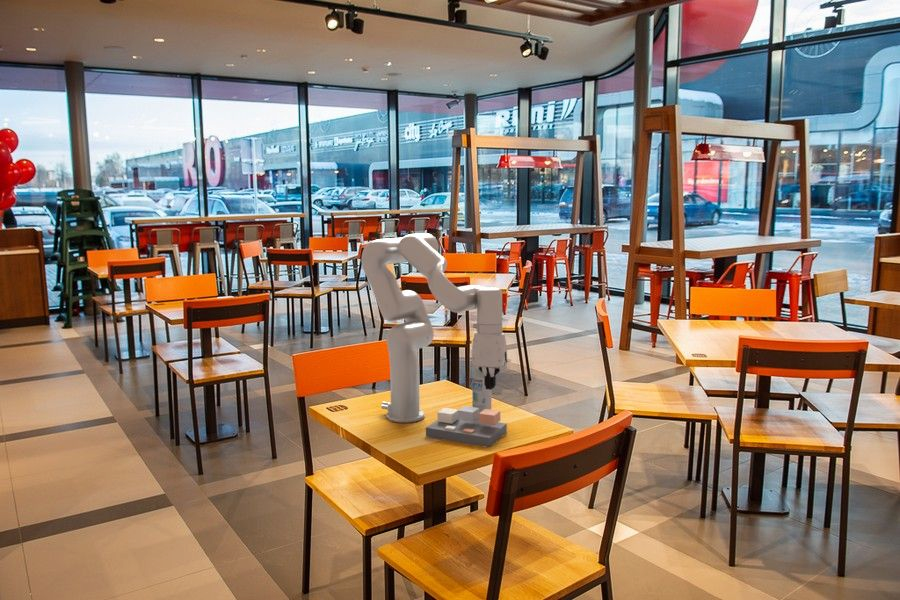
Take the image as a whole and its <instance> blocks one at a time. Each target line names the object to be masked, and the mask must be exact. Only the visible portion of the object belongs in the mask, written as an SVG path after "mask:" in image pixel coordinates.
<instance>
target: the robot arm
mask: <svg viewBox="0 0 900 600" xmlns="http://www.w3.org/2000/svg"><path fill="white" fill-rule="evenodd" d="M439 249H440V245H439V242H438V239H437V238H436V237H435V236H433V235H432V234H431V233H427V232H421V233H410V234H406V235H404V236H402V237H391V238H390V237H389V238H388V237H387V238H378V239H375V240H371V241H370V242H368V243H367V244H366V245H365V247H364V248H363V250H362V253H361V260H360V261H361V265H362V269H363V272H364V275H365V276H366V278H367V280H368V283H369V284H370V287H371V290H372V292H373V296H374V298H375V301H376V303H377V306H378V309H379V311H380V313H381V316H382V318H383V319H384V320H385V321H387V322H398V321H402V320H404V321H405V322H403V323H398V324H396V325H394V326H392V327H391V328H390V329H389V330H388V332H387V335H386V346H387V349H388V350H387V351H388V355H389V356H388V357H389V371H390V372H389V373H390V376H389V377H390V382H389V383H390V402H388V401H382V403H381V407H380V408H381V409H383V410H387V412H386V417H385V418H386V419H387V420H389V421H391V422H394V423H400V424H401V423H402V424H403V423H413V422H414V423H415V422H418V421H421V420H423V419H424V418H425V412H424V411H423V410H422V409H421V407H420V363H419V359H418V357H417V355H416V352H415V351H416V350H419V349H423V348H426V347H428V346H429V345H431V344H432V342H433V340H434V328H433V325H432V322H431V319H430V317H429V314H428V311H427V309H426V307H425V303H424V302H423V299H422V297H421V296H420V295H419V294H418V293H417V292H416V291H414V290H410V289H405V290H401V288H400V286H399V283H398V281H397V279H396V276H395V275H394V274H393V272H392V271H391V270H390V269H389V268H388V267H387V265H391V264H394V265H395V264H403V263H406V262H407V263H408V264H410V266H412V267H413V268H414V269H415V270H416V271H417V272H418V273H420V274H421V276H423V277H424V278H425V279H426V281H427V285H428V288H429V290H430V292H431V294H432V296H433V297H434V298H435V299H436V300H437V302H439V303H440V304H441V305H442V306H443V307H445V309H447V310H449V311H450V312H453V313H456V314H457V313H464V312H466V311H467V312H468V311H472V310H476V323H473V325H472V328H473V329H475V330H476V332H475V333H473V339H472V348H471V365H472V364H473V368H476V369H479V370H480V371H481V372H482V373H483V376H484V385H485V386H486V389H489V390H491V389H492V390H493V389H495V387H496V384H497V383H496V381H497V379H496V377H497V375H498V374H499V373H500V372H506V371H507V370H508V366H507V364H508V347H507V340H506V336H505V333H504V332H503V292H502V289H501V288H499V287H493V286H482V285H478V284H468V285H461V286H456V285H455V284H454V283H453V282H452V281H450V280H449V279H448V278H447V277H446V276H445V274H444V273H445V271H446V269H447V266H448V262H447V260H446V258H445V257H444V256H443V255H442V254H440V252H439ZM489 368H491V372H490V370H489Z"/></svg>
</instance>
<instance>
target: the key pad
mask: <svg viewBox="0 0 900 600" xmlns="http://www.w3.org/2000/svg"><path fill="white" fill-rule="evenodd" d="M507 430H508V424H507V422H506V423H505V422H500V421H499V422H498V423H496V424H495V425H490V424H483V423H479V419H476V420H475V421H473V422H470V421H463V420H457V421H455V422H454V423H452V424H451V423H444V422H438V421H437V420H435V421H434V422H432V423H431V424H429V425H427V426H425V438H430V439H435V440H442V441H448V442H453V443H461V444H466V445H471V446H472V445H473V446H478V447H483V446H486V447H485V448H489V447H490V446H491V445H492V446H493V445H494V444H495V443H497V442H499V440H500V439H501V438H503V437H504V436H505V435H506V434H507ZM496 441H497V442H496ZM492 446H491V447H492ZM491 447H490V448H491Z"/></svg>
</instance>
